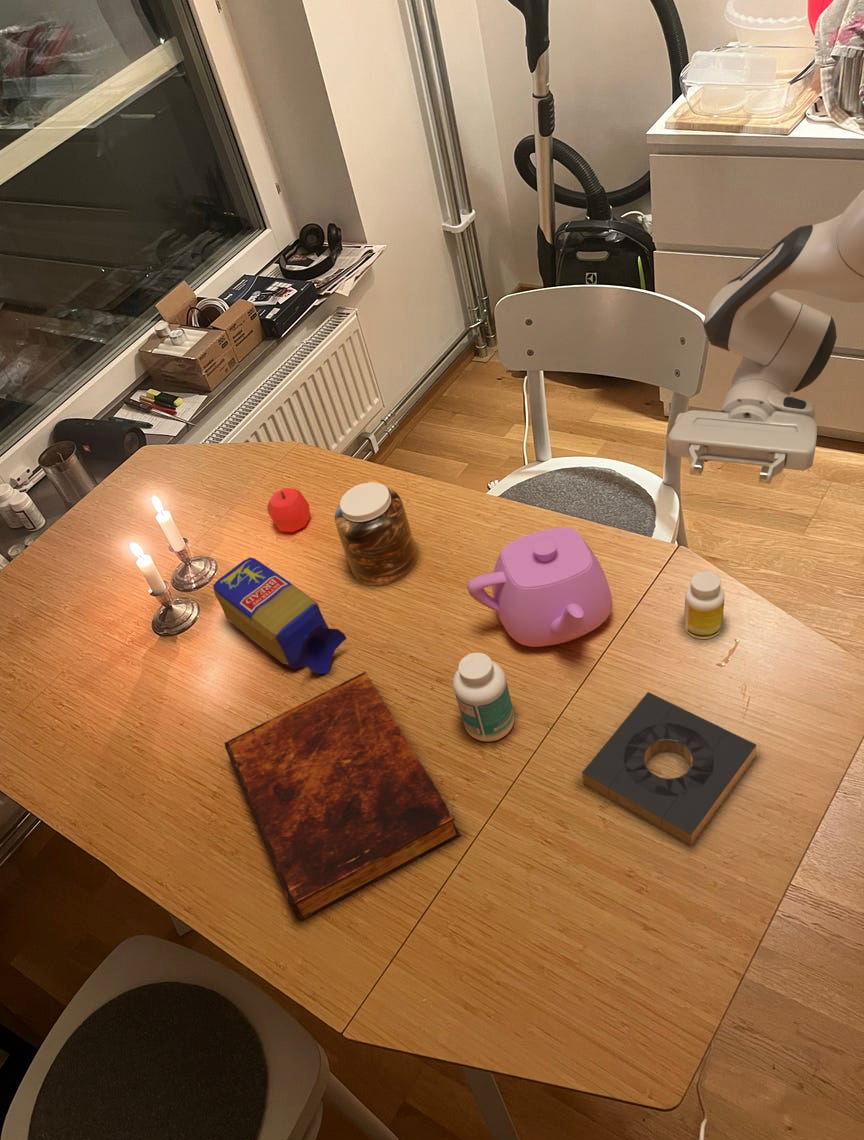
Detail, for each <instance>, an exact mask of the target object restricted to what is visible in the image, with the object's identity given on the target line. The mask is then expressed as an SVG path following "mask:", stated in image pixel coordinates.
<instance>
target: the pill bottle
mask: <svg viewBox="0 0 864 1140" xmlns="http://www.w3.org/2000/svg"><path fill="white" fill-rule="evenodd" d="M457 668H458V669H457V670H456V672H455V673H454V675H453V679H452V687H453V692H454V694H455V699H456V702H457V705H458V708H459V712H460V716H461V719H462V722H463V726H464V728H465V730H466V732H467V734H468V735H469V736H470V737H471V738H473V739H475V740H477V741H480V742H487V743H488V742H494V741H495V742H496V741H498V740H500V739H502V738H504V737H506V736H507V735H508V734H509V733H510V731H511V730H512V729H513V726H514V724H515V712H514V708H513V704H512V699H511V693H510V691H509V686H508V680H507V676H506V674H505V670H504V669H503V668H502V667H501V665H499V664H498V663H497V662H495V661H493V660H492V659H491V657H490V656H489V655H487V654H486V653H482V652H471V653H469V654H467V655H465V656H464V657H462V658H461V659H460V661H459V662H458V666H457Z"/></svg>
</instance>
